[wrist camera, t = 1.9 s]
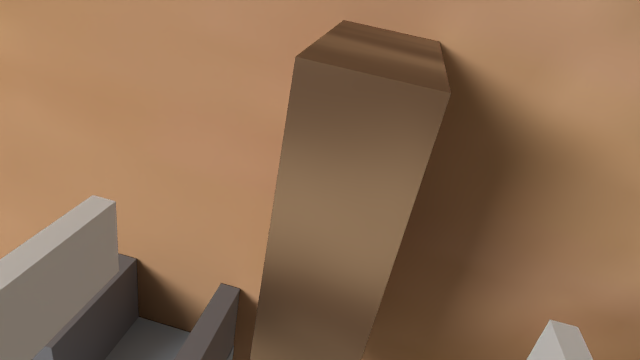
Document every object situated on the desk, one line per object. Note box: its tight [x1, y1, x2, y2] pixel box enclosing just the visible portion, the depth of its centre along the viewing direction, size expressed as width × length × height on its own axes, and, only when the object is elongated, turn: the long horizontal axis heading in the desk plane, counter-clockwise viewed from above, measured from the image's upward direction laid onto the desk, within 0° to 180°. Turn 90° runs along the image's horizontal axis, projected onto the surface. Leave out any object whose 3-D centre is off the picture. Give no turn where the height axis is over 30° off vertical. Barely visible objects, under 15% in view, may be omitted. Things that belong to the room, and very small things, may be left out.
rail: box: [250, 20, 451, 360], centre depth 18 cm, size 16×4×8 cm, turn 169°
